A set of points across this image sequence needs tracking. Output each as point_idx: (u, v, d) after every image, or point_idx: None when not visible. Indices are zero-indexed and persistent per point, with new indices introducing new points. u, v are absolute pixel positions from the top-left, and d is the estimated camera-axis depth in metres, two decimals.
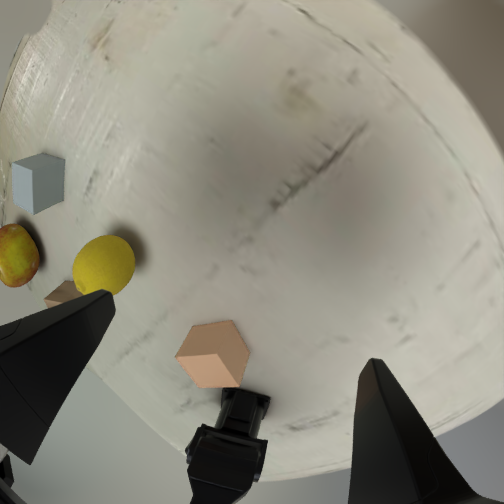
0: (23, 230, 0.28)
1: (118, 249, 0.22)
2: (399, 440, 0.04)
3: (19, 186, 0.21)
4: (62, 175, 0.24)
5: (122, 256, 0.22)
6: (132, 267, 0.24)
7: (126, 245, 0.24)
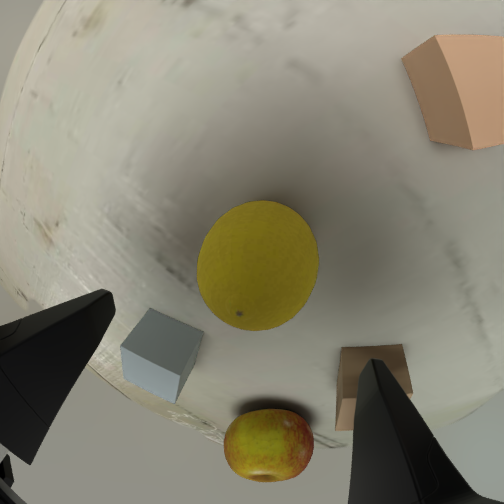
0: (240, 416, 0.23)
1: (223, 215, 0.13)
2: (399, 440, 0.04)
3: (148, 380, 0.19)
4: (167, 318, 0.22)
5: (234, 208, 0.12)
6: (272, 202, 0.13)
7: None
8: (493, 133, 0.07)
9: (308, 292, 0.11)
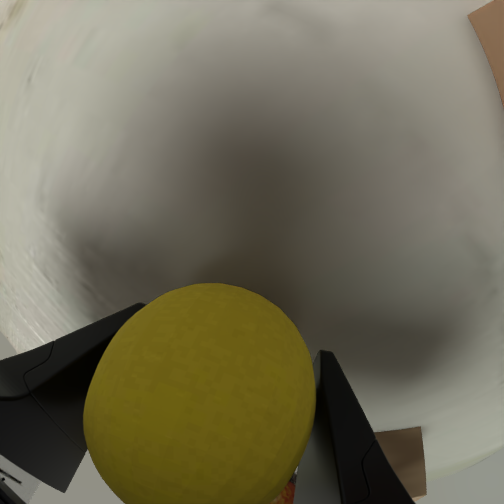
0: None
1: (130, 319, 0.06)
2: (331, 438, 0.04)
3: None
4: None
5: (144, 314, 0.06)
6: (222, 298, 0.06)
7: None
8: None
9: (285, 485, 0.04)
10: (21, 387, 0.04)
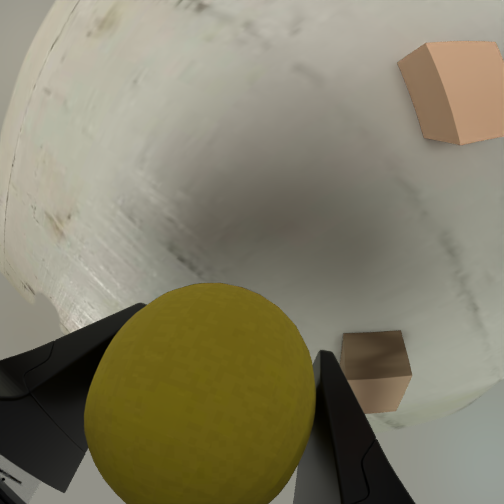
0: None
1: (130, 319, 0.06)
2: (331, 437, 0.04)
3: None
4: None
5: (144, 314, 0.06)
6: (222, 298, 0.06)
7: None
8: (479, 130, 0.08)
9: (285, 484, 0.04)
10: (20, 387, 0.04)
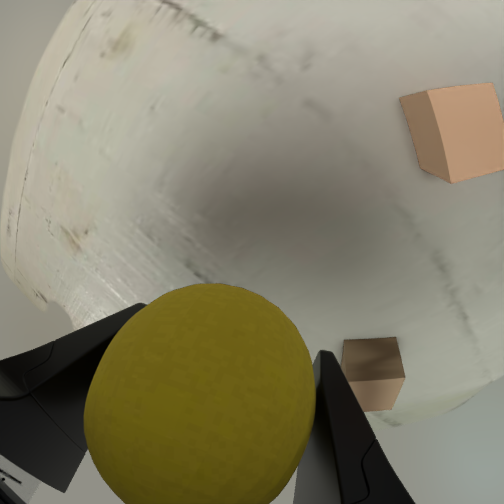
0: None
1: (130, 320, 0.06)
2: (331, 437, 0.04)
3: None
4: None
5: (144, 314, 0.06)
6: (222, 299, 0.06)
7: None
8: (469, 169, 0.10)
9: (285, 485, 0.04)
10: (21, 387, 0.04)
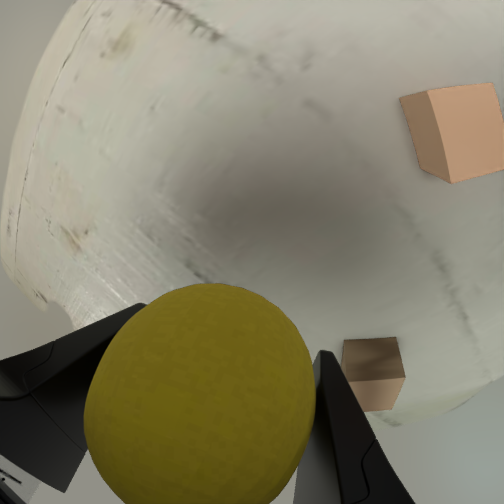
0: None
1: (130, 320, 0.06)
2: (331, 438, 0.04)
3: None
4: None
5: (144, 314, 0.06)
6: (222, 298, 0.06)
7: None
8: (469, 169, 0.10)
9: (285, 485, 0.04)
10: (21, 387, 0.04)
